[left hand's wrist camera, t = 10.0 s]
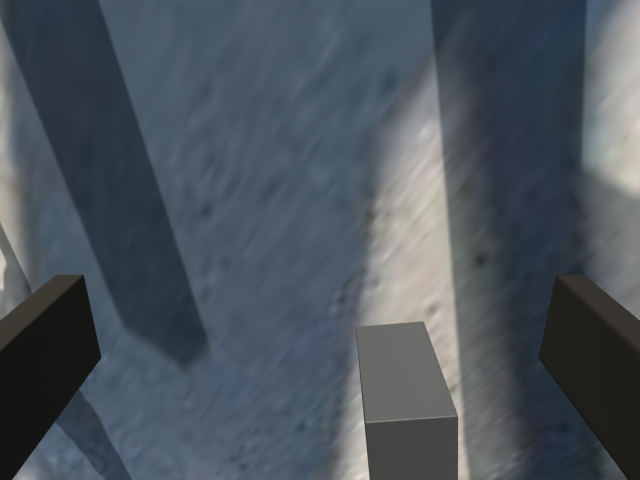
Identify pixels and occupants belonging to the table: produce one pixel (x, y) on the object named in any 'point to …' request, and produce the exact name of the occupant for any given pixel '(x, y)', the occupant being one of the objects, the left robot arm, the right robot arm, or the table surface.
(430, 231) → the table surface
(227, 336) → the table surface
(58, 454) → the table surface
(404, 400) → the bar
